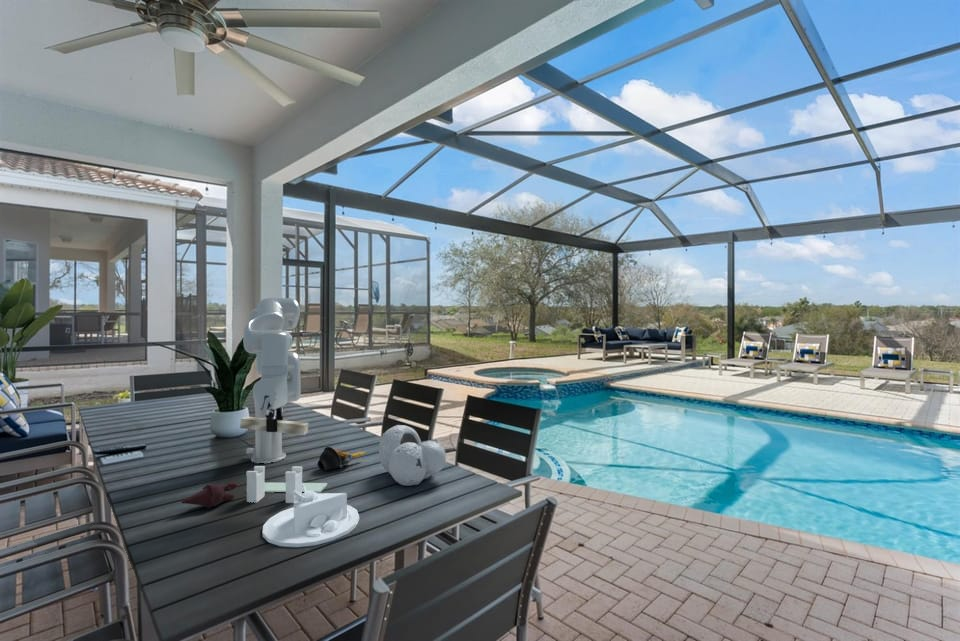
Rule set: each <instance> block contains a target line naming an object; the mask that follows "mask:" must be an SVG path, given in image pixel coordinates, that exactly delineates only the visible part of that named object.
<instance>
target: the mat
mask: <svg viewBox="0 0 960 641" xmlns="http://www.w3.org/2000/svg"><path fill="white" fill-rule="evenodd" d="M302 483H303V484H304V486H305V488H306V491H314V492H316V493H322V492H323V491H324V489H325V488H327V486H328V482H302ZM245 492H246V493H247V489H246V491H245ZM274 492H286V482H265V493H274ZM302 492H304V489H303V486H302Z"/></svg>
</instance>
